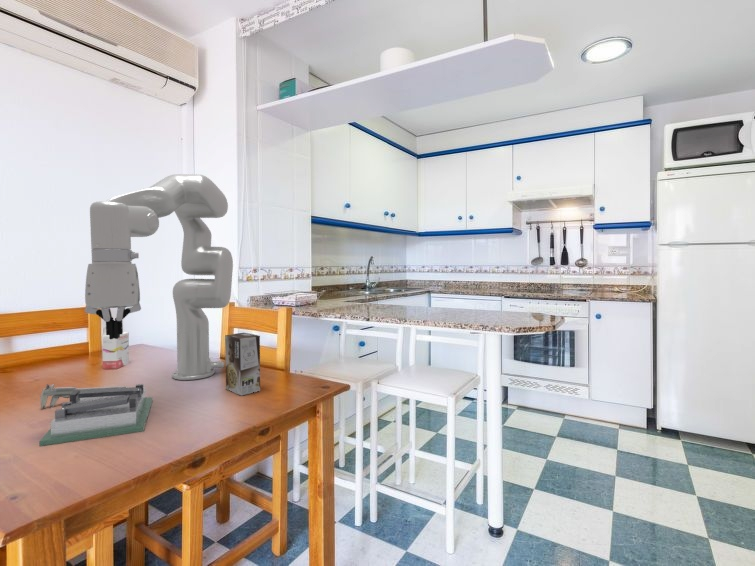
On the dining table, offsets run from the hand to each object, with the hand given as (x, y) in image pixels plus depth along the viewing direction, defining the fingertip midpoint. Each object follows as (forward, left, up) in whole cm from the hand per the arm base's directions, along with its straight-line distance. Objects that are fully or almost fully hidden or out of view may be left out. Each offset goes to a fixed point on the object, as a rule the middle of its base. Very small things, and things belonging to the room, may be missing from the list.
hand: (114, 337), depth 92 cm
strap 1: (+4, +2, -15) cm, 16 cm away
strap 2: (+2, -7, -15) cm, 17 cm away
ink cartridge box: (+9, -60, -20) cm, 64 cm away
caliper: (+10, -22, -20) cm, 31 cm away
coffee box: (-29, -13, -20) cm, 38 cm away
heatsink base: (+3, -2, -20) cm, 20 cm away
